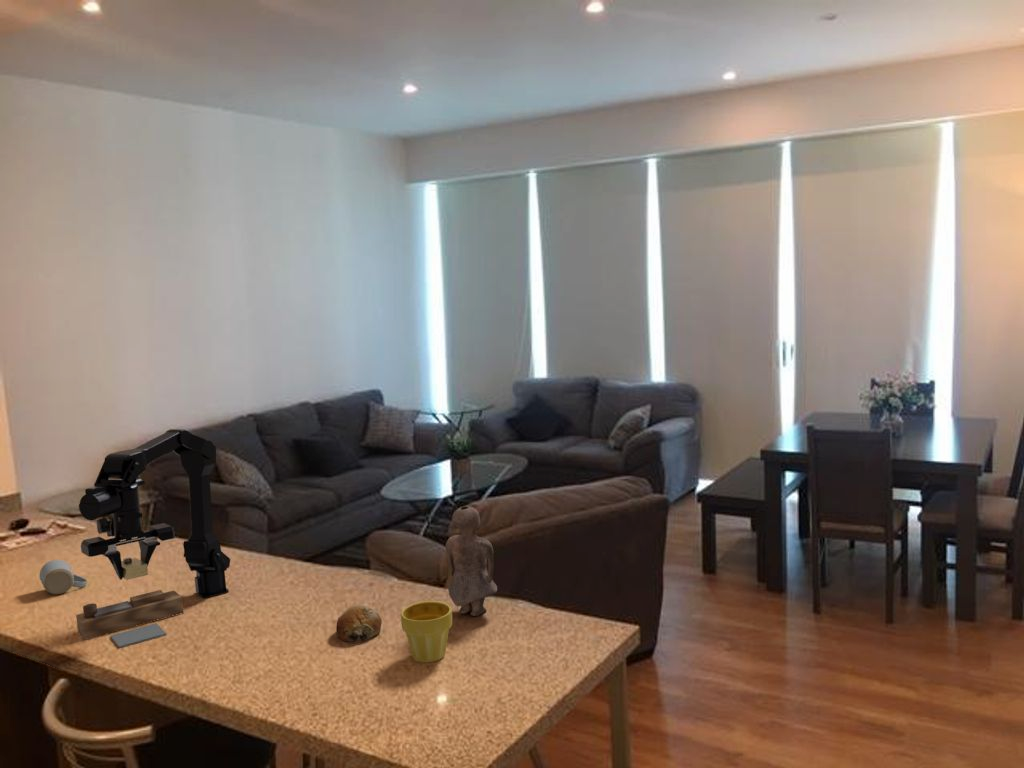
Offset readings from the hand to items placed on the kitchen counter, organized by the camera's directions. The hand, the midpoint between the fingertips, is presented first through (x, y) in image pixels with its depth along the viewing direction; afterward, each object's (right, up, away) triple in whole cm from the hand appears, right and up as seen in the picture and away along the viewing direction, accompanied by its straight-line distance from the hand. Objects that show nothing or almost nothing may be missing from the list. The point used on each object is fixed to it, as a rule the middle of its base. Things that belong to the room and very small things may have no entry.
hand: (132, 576), depth 194 cm
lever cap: (0, 0, 0) cm, 1 cm away
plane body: (-4, -13, +9) cm, 16 cm away
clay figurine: (+77, -10, +4) cm, 78 cm away
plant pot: (+69, -13, -17) cm, 72 cm away
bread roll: (+52, -12, -4) cm, 54 cm away
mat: (+1, -14, 0) cm, 14 cm away
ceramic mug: (-33, -11, +34) cm, 49 cm away
